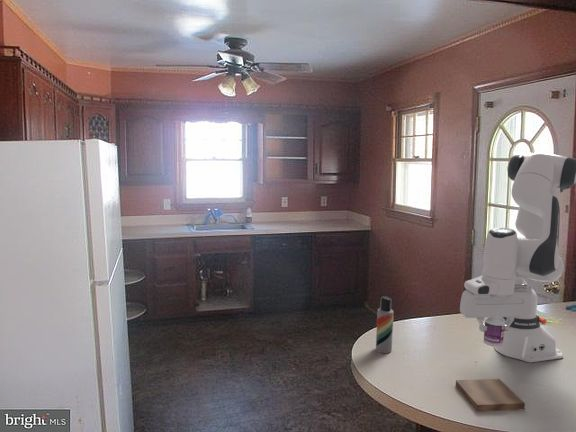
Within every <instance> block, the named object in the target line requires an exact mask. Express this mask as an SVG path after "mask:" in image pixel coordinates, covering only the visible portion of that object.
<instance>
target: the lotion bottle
mask: <svg viewBox="0 0 576 432" xmlns="http://www.w3.org/2000/svg"><path fill="white" fill-rule="evenodd" d="M376 313H377V315H376V316H377V317H376V334H375V335H376V337H375V339H376V340H375V350H376V351H377V352H378V353H382V354H389V353H391V352H392V351H393V349H392V348H393V332H394V331H393V330H394V310H393V309H392V298H391V297H389V296H381V298H380V306H379V308H377V312H376Z"/></svg>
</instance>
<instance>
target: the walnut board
mask: <svg viewBox="0 0 576 432" xmlns="http://www.w3.org/2000/svg"><path fill="white" fill-rule="evenodd" d="M455 387H456V389H457V390H458V391H459V392H460V393H461V395H462V396H463V397H464V398H465V399H466V400H467V402H469V404H470V405H471V406H472V408H473V409H474V410H475V411H476V412H477V413H478V412H495V411H496V412H498V411H500V412H501V411H502V410H503V411H517V410H516V409H524V410H525V404H526V403H525V402H524V400H522V399H521V398H520V397H519V396H518V395H517V394H516V393H515V392H514V391H513V390H511V388H509V386H507V384H506V383H504V381H502V380H501V379H500V378H488V379H484V378H483V379H459V380H457V379H456V380H455Z"/></svg>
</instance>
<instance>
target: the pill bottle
mask: <svg viewBox="0 0 576 432" xmlns="http://www.w3.org/2000/svg"><path fill="white" fill-rule="evenodd" d="M502 318H503V317H502V315H501V314H497V315H496V316H495V317H485V318H484V324H485V325H486V326H487V331H484V332H483V343H484V344H485V345H487V346H490V347H493V348H494V347H500V346H502V345H503V338H504V328H505V322H504V320H503V319H502Z"/></svg>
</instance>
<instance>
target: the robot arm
mask: <svg viewBox="0 0 576 432" xmlns="http://www.w3.org/2000/svg"><path fill="white" fill-rule="evenodd" d="M506 169H507V177H508V178H509V180H511V181H512V182H513V183H512V187H511V197H512V199H513V201H514V202H515V203H516V205H517V206H518V207H519V208H518V211H517V214H516V220H515V223H514V224H515V225H514V226H515V229H516V230H517V231H518V233H520V235H522V236H523V237H519V236H518V233H517V231H516V230H515V229H512V228H509V227H495V228H492V229H490V230H488V231H487V235H486V238H485V243H484V248H483V257H482V260H483V268H482V271H481V275H480V276H477V277H474V278H472V279H468V280H465V282H464V288H465V290H464V291H463V292H462V294H461V297H460V304H459V311H460V314H461V315H462V316H463V317H464V318H466V319H467V318H468V319H471V318H472V319H476V321H477V322H478V324H479V325H478V326H479V328H478V329H479V331H480V332H483V333H484V331H487V326H486V325H485V323H484V322H485V319H486V318H487V317H495V316H496V315H497V314H501V315H502V317H503V318H502V319H503V320H504V322H505V328H504V338H503V345H502V346H500V347H493V348H494V350H496V351H497V352H498V353H499V354H500V355H503V356H506V357H508V358H512V359H517V360H521V361H524V362H527V363H537V362H544V361H552V360H557V359H563V353H562V351H561V350H560V349H559V348H557V345H556V344H557V343H556V340H555V337H554V336H553V335H552V334H551V333H550V332H548V331H547V330H546V329H545V328H544V327H543V326H541V325H546V324H547V322H548V321H547V319H546V318H544V317H540V316H539V315H537V308H538V299H539V298H538V294H537V292H536V291H535V290H534V289H533V288H532V287H531V286H530V285H528V283H527V280H526V279H529V280H532V281H533V280H534V281H536V282H545V283H546V282H547V283H552V282H553V283H554V282H557V281H558V280H559V279H560V277H562V275H563V272H564V268H565V266H564V261H563V258H562V257H561V255H560V252H559V239H560V238H559V237H560V222H561V221H560V219H561V213H560V208H561V207H560V202H559V199H558V197H557V189H559V193H560V194H561V193H563V191H564V190H569V189H570V188H573V186H575V184H576V158H574V157H571V156H563V155H560V154H559V155H558V154H554V153H548V152H547V153H543V152H534V153H533V152H523V151H522V152H516V153H514V154H512V155H511V157H510V159H509V161H508V163H507V167H506Z"/></svg>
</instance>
